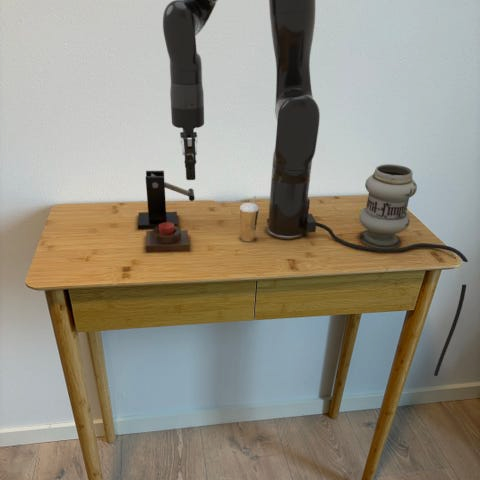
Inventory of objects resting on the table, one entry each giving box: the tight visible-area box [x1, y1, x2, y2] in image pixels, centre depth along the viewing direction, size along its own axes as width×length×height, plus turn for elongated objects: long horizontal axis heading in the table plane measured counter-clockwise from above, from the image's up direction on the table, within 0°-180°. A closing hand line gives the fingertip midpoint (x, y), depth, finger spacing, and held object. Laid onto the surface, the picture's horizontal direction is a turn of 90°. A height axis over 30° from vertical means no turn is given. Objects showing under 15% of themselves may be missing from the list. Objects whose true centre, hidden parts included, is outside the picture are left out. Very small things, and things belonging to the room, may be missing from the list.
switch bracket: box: [137, 170, 179, 230], centre depth 124 cm, size 10×8×13 cm
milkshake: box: [239, 195, 260, 242], centre depth 120 cm, size 4×5×10 cm
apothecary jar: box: [358, 163, 418, 248], centre depth 119 cm, size 12×12×18 cm
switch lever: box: [151, 173, 196, 202], centre depth 123 cm, size 12×5×2 cm, turn 97°
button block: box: [145, 226, 190, 253], centre depth 117 cm, size 10×8×4 cm
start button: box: [159, 222, 175, 235], centre depth 116 cm, size 4×4×2 cm
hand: (190, 173), depth 122 cm, fingers open, 8 cm apart
